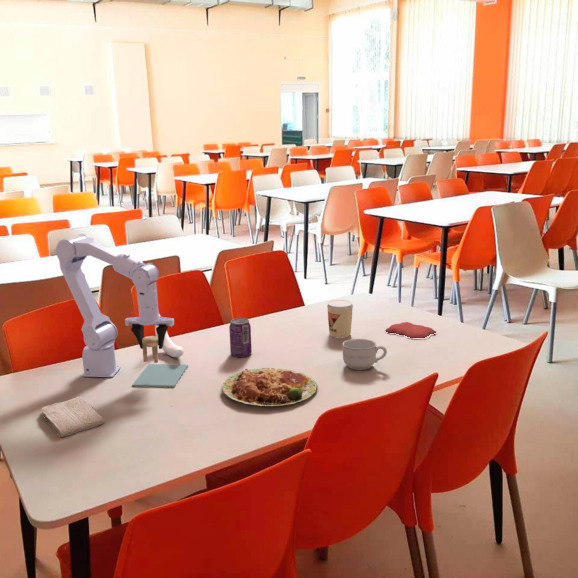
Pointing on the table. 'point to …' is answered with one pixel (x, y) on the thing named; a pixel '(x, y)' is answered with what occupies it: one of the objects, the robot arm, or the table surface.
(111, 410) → the table surface
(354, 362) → the teacup
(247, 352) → the beverage can
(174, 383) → the mat
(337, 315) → the coffee cup
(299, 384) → the rice dish
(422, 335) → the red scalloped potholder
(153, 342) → the tan piece
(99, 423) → the washcloth
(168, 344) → the banana
